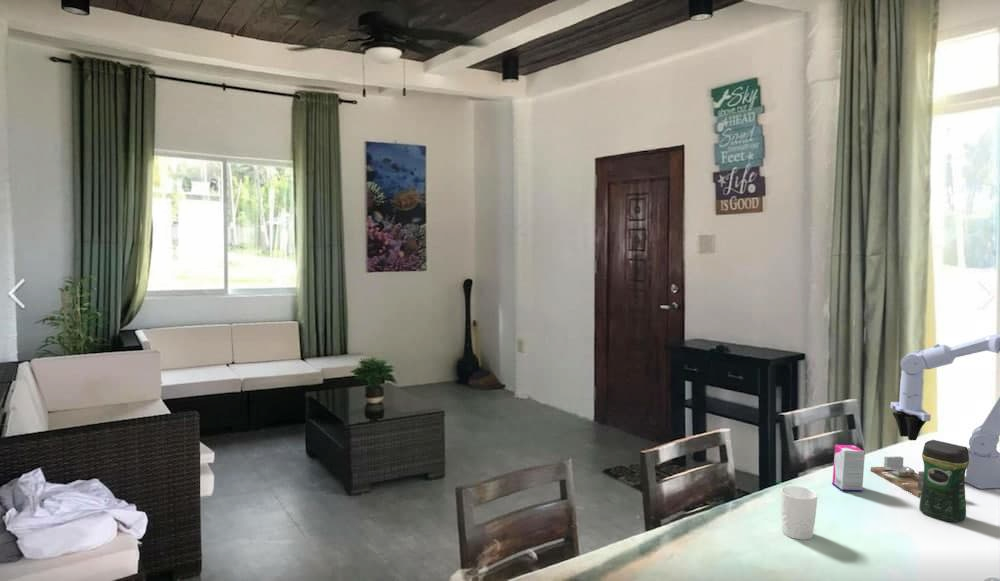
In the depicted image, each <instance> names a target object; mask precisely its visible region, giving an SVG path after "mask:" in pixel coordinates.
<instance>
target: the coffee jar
mask: <svg viewBox="0 0 1000 581" xmlns="http://www.w3.org/2000/svg"><path fill="white" fill-rule="evenodd" d="M921 458H922V461H923V471H924V478H923V485H922V491H921V497H919V504H918V509H919V511H920V512H921V513H923V514H924V515H927V516H930V517H933V518H936V519H939V520H944V521H948V522H962V521H963V520H965V519H966V517H967V502H966V500H967V499H966V485H965V483H966V482H965V477H966V469H967V467H968V465H969V453H968V447H967V446H964V445H959V444H954V443H950V442H945V441H941V440H936V439H931V440H927V441H926V442H925V443H924V445H923V449H922V454H921Z"/></svg>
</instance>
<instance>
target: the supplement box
mask: <svg viewBox="0 0 1000 581" xmlns="http://www.w3.org/2000/svg"><path fill="white" fill-rule="evenodd" d="M865 452H866V451H865V450H863V449H861V448H860V447H859V446H857V445H855V444H853V445H852V444H835V445H834V453H833V454H834V456H833V457H834V458H833V470H832V471H833V472H832V485H833V486H834V487H835V488H837V489H838V490H839V491H840V492H845V493H846V492H847V493H848V492H851V493H854V492H855V493H856V492H857V493H862V492H863V487H864V486H863V485H864V484H863V483H864V472H865V471H864V470H865V467H864V466H865V456H866V455H865V454H866V453H865Z"/></svg>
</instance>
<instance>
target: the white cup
mask: <svg viewBox="0 0 1000 581" xmlns="http://www.w3.org/2000/svg"><path fill="white" fill-rule="evenodd" d="M818 496H819V495H818V493H817V492H816V491H814V490H812V489H811V488H807V487H804V486H803V487H802V486H794V485H793V486H792V485H789V486H788V485H787V486H784V487H781V488H780V520H781V532H782V534H784V536H787V537H788V538H792V539H795V540H802V541H804V540H810V539H812V538H813V536H814V528H815V523H816V516H817V508H818V507H817V506H818Z"/></svg>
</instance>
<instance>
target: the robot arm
mask: <svg viewBox="0 0 1000 581" xmlns="http://www.w3.org/2000/svg"><path fill="white" fill-rule="evenodd" d="M985 351H987V352H991V353H996V354H1000V333H996V334H992V335H987V336H983V337H979V338H977V339H973V340H971V341H967V342H964V343H960V344H957V345H954V346H949V345H947V344H940V343H936V344H934V345H933V347H930V348H926V349H922V350H921V349H917V350H915V352H910V353H907V354H906V355H905V356H903V357H902V358H901V359H900V363H899V364H900V368H901V372H900V375H901V376H900V383H899V384H900V385H899V401H891V402H890V409H891V410H893V409H895V410H896V411H893V412H892V416H893V418H894V419H895V421H896V424H897V428H898V432H899V437H907V439H908V441H917V439H918V437H919V434H920V431H921V429H922V427H923V426H924V425H925V424H926V422H931V418H932V417H931V414H930V413H928V412H926V411H925V410H924V409H922V407H923V406H922V405H923V388H924V387H923V386H924V379H923V377H924V376H923V375H924V371H923V370H932V369H936V368H940V367H944V366H947V365H950V364H953V363H954V361H955V359H956V358H959V357H964V356H969V355H972V354H973V355H974V354H978V353H982V352H985ZM982 422H983V423H982V424H981V425H979V426H977V427H976V428H975V429H973V431H972V434H971V436H970V438H969V440H968V445H969V447H967V449H968V453H969V465H968V467H967V468H966V471H965V483H966V484H968V485H970V486H973V487H974V488H977V489H980V490H981V489H983V490H984V489H985V490H986V489H1000V452H999V451H998V450H997V447H998V443H999V442H1000V396H998V399H997V400H996V402H995V403H994V405H993V407H992V408H991V410H990V412H989V414H988V415H987V416H986V418H985V420H984V421H982Z"/></svg>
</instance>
